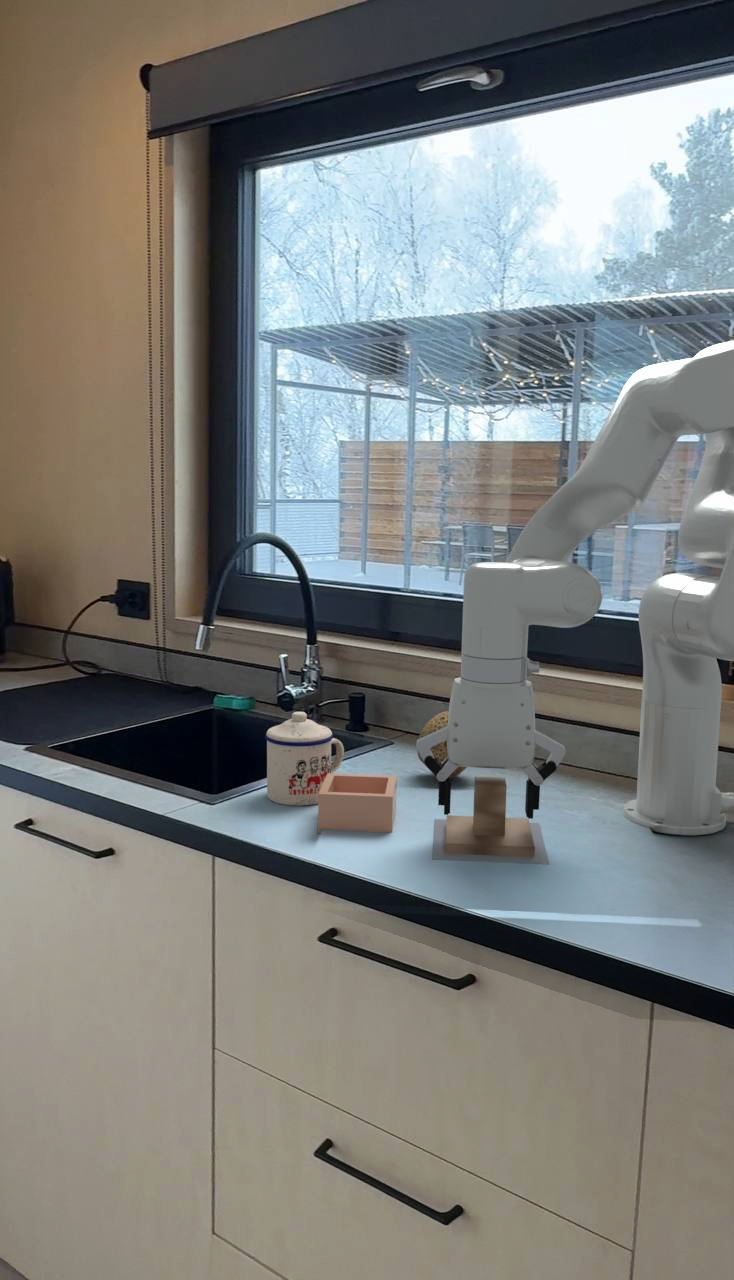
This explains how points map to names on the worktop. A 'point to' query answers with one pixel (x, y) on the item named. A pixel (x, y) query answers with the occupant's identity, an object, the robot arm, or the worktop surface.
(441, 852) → the mat
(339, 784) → the dish
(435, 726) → the natural sponge
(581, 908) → the worktop surface
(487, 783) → the lid
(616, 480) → the robot arm
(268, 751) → the teacup with lid
